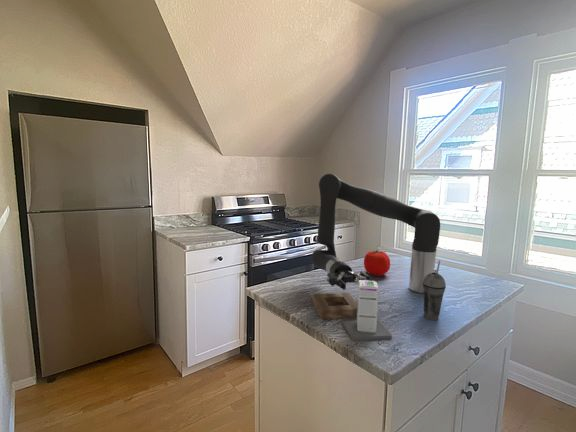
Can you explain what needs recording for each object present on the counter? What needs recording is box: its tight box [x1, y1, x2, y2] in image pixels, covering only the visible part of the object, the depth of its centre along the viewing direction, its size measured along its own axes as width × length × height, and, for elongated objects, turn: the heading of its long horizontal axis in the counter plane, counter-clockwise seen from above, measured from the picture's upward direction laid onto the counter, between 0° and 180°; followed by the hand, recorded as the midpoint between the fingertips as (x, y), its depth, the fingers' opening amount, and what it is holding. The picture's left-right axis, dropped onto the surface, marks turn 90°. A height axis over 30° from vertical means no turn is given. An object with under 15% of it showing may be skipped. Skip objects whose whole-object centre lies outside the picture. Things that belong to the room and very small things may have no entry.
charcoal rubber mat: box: [342, 319, 393, 342], centre depth 99 cm, size 12×10×1 cm
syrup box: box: [356, 280, 379, 333], centre depth 98 cm, size 6×6×14 cm
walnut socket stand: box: [312, 292, 358, 320], centre depth 113 cm, size 14×14×3 cm
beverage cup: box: [422, 260, 447, 321], centre depth 108 cm, size 7×7×20 cm
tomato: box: [363, 249, 391, 277], centre depth 151 cm, size 12×13×12 cm
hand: (357, 286), depth 105 cm, fingers open, 8 cm apart
